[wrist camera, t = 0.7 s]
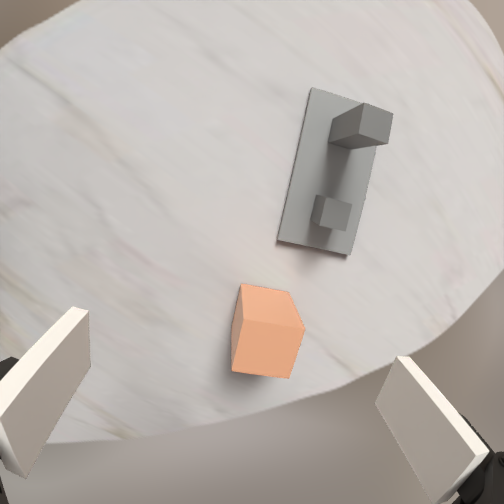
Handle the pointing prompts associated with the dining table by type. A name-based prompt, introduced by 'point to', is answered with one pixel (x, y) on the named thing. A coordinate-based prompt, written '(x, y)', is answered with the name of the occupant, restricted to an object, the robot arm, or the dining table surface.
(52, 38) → the dining table surface
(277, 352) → the orange block
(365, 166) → the stand
